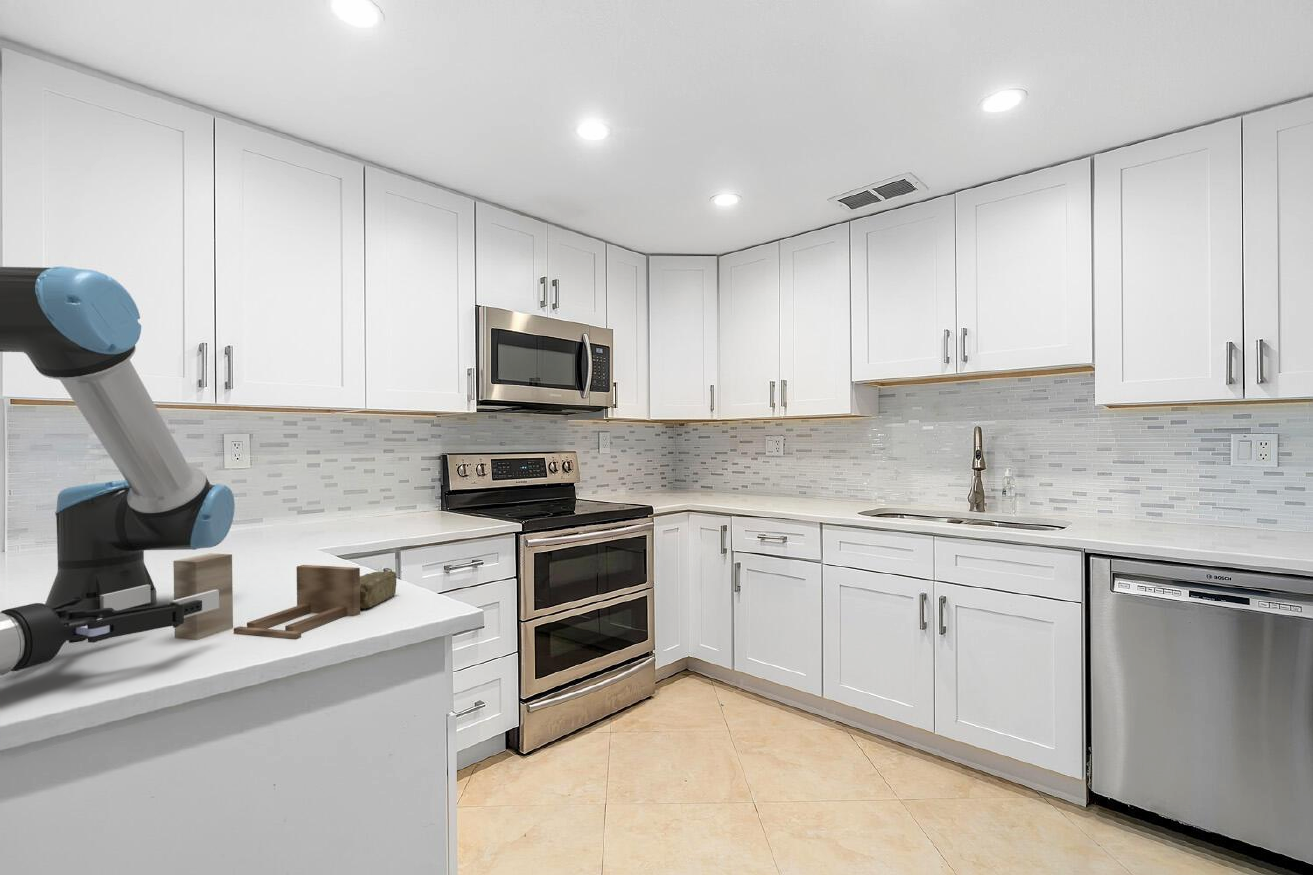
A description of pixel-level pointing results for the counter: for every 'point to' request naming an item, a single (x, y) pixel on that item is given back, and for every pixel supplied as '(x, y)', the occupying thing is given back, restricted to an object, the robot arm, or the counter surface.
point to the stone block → (376, 588)
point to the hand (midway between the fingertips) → (182, 595)
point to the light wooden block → (198, 579)
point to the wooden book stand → (313, 602)
